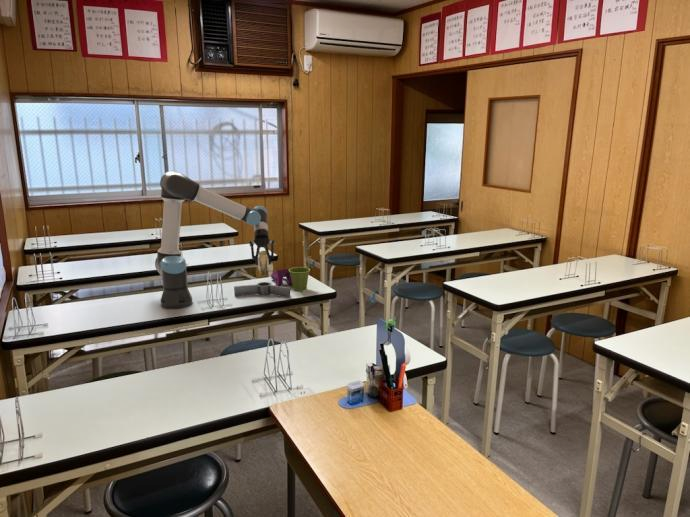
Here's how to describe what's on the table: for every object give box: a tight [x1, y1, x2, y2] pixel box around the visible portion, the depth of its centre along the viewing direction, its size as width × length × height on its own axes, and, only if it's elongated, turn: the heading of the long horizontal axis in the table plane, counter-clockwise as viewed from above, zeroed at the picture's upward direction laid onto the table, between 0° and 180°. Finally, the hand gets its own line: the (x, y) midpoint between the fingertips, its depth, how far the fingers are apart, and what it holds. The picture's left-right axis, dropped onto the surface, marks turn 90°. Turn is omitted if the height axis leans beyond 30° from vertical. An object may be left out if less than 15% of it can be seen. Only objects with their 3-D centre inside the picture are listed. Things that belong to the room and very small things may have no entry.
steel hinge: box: [233, 281, 291, 298], centre depth 266 cm, size 30×10×5 cm, turn 87°
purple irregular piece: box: [270, 268, 293, 287], centre depth 286 cm, size 9×8×18 cm
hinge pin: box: [258, 250, 268, 276], centre depth 263 cm, size 4×4×12 cm
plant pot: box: [288, 266, 311, 292], centre depth 273 cm, size 12×12×11 cm
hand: (263, 269), depth 260 cm, fingers closed on hinge pin, 4 cm apart
